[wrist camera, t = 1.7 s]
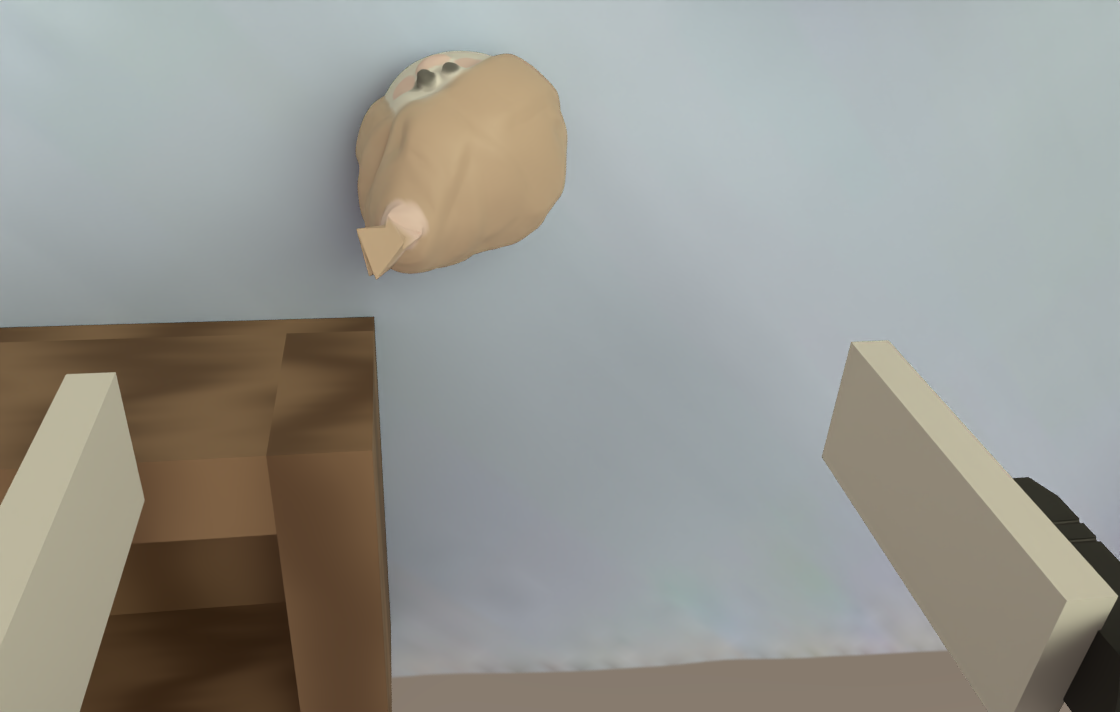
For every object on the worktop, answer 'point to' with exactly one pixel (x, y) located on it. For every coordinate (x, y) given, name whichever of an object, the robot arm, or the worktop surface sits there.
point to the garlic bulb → (457, 161)
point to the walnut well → (233, 510)
